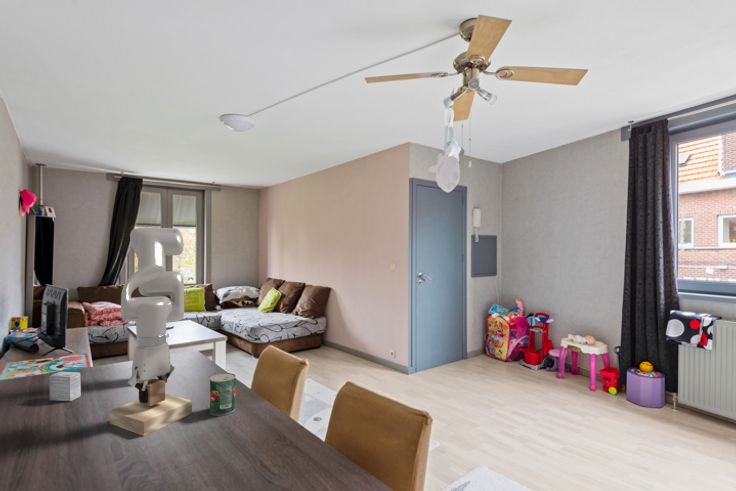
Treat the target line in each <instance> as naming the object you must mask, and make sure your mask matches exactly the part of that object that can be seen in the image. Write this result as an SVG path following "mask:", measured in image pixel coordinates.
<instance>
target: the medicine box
mask: <svg viewBox="0 0 736 491" xmlns="http://www.w3.org/2000/svg"><path fill="white" fill-rule="evenodd" d="M48 382H49V384H48V385H49V401H58V402H61V401H62V402H72V401H74V400H77V399H79V398H80V397H81V396H82V395H81V394H82V393H81V392H82V390H81V388H82V387H81V372H74V371H59V372H56V373H54V374H53V373H52V374H51V375H49V380H48Z"/></svg>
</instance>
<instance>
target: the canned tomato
mask: <svg viewBox="0 0 736 491" xmlns="http://www.w3.org/2000/svg"><path fill="white" fill-rule="evenodd" d="M236 380H237V379H236V374H235V373H231V372H223V373H217V374H214V375H211V377H209V414H210V415H212V416H215V417H216V416H217V417H220V416H222V417H223V416H226V415H229V414H232V413H233V412H235V410H236V389H237V387H236V382H237V381H236Z"/></svg>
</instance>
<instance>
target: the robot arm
mask: <svg viewBox="0 0 736 491" xmlns="http://www.w3.org/2000/svg"><path fill="white" fill-rule="evenodd" d="M129 237H130V239H129V240H130V244H131V247H132V249H133V251H134V253H135V256H136V259H137V270H136V271H135V272H134V273H133V274H132V275H131V276H129V278H128V279H127V280H126V282H125V283H124V284H123V287H122V290H121V297H120V298H121V299H120V300H121V301H120V315H121V318H122V319H123V320H124V321H126V322H135V330H136V331H135V332H136V334H135V335H136V347H135V349H134V352H133V358H132V366H131V377H130V378H129V379H128V381H127V384H129V385H130V386H132V387H134V388H135V389H136V390H138V400H139V401H140V402H142V403H147V402H148V390H146V387H147V383H148V380H151V379H154V378H155V379H159V380H163V381H165V384H166V383H167V382H168V379H169V378H170V376H171V374H172V373H173V372H174V370H175V368H176V364H175V363H171V353H170V352H171V351H170V348H169V347H170V346H169V343H168V341H167V338H169V336H170V335H169V333H167V323H176V322H179V321H181V320H182V319H184V315H185V283H184V276H183V274H182V273H181V272H179V271H174V270H173V271H169V270H167V269H166V265H167V264H166V256H180V255H182V253H183V251H184V238H183V235H182V232H181V231H180V229H179V228H176V227H149V226H148V227H137V228H133V229H132V230H131V231H130V234H129ZM137 288H138V292H139V294H141V295H142V296H137V297H132V294H133V292H135V290H136V289H137ZM167 296H170V297H171V298H170V297H167ZM142 383H143V384H142Z"/></svg>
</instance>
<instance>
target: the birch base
mask: <svg viewBox="0 0 736 491" xmlns="http://www.w3.org/2000/svg"><path fill="white" fill-rule="evenodd" d="M192 413H193V400H190V399H186V398H183V397H179V396H176V395H172V394H168V393H165V400H164V401H161V402H159V403H157V404H154V405H152V406H148V405H144V404H141V403H139V399H136V400H134V401H130V402H129V403H126V404H123V405H120V406H118V407H115V408H113V409H111V410H109V425H112V426H115V427H118V428H120V429H123V430H126V431H128V432H129V431H130V432H133V433H134V434H137V435H140V436H143V437H145V436H148V435H150V434H151V433H154V432H156V431H158V430H161V429H162V428H164V427H166V426H168V425H170V424H172V423H174V422H176V421H179V420H181V419H183V418H186V417H187V416H189V415H192Z"/></svg>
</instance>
